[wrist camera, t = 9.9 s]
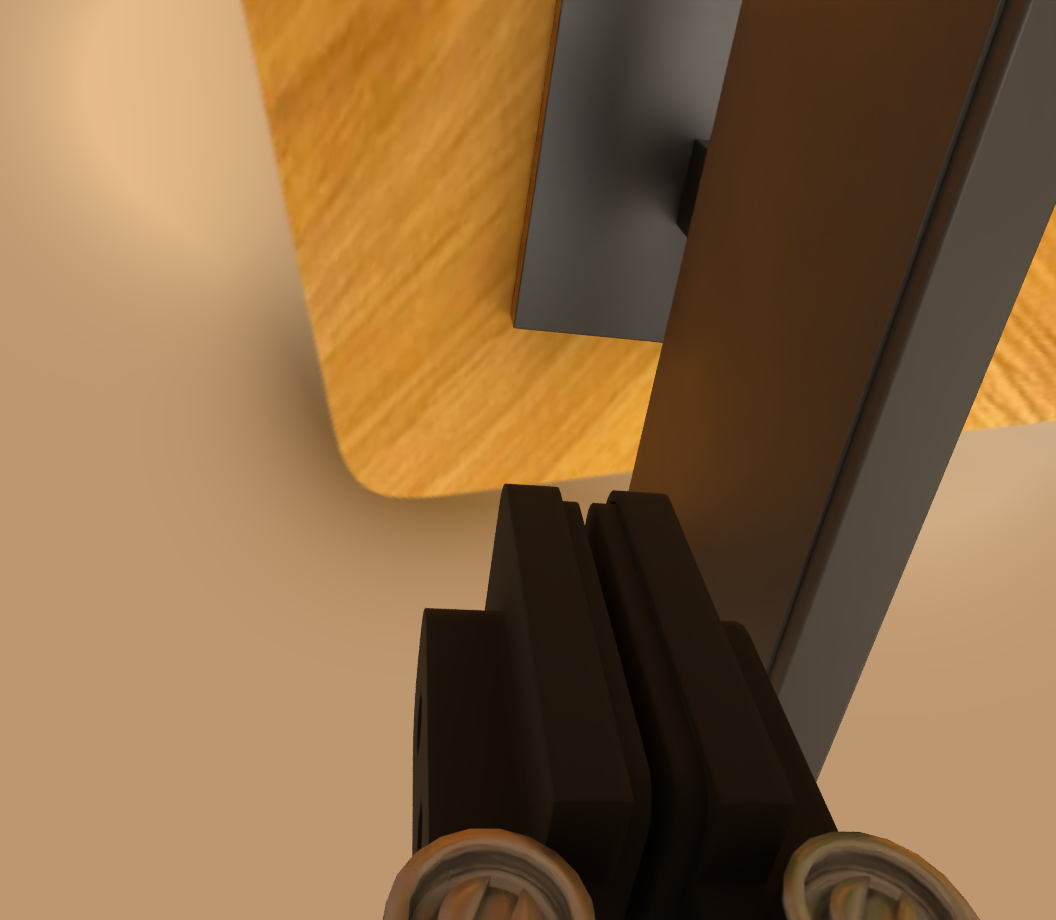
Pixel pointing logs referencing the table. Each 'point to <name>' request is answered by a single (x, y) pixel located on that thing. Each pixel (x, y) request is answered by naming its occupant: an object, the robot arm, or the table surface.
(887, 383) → the monitor screen
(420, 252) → the table surface
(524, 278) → the monitor stand
